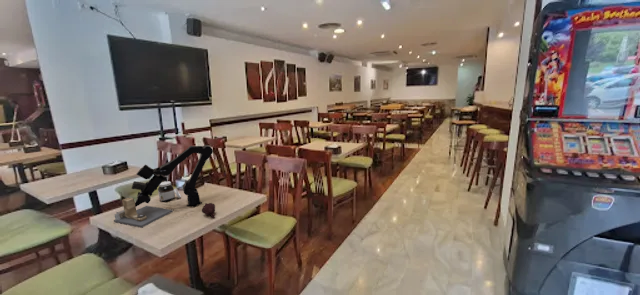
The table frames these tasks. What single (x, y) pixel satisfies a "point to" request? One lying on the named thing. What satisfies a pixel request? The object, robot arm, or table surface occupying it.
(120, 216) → the keeper
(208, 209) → the icecream
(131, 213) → the link
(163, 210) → the base board
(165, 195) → the spread jar
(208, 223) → the table surface
